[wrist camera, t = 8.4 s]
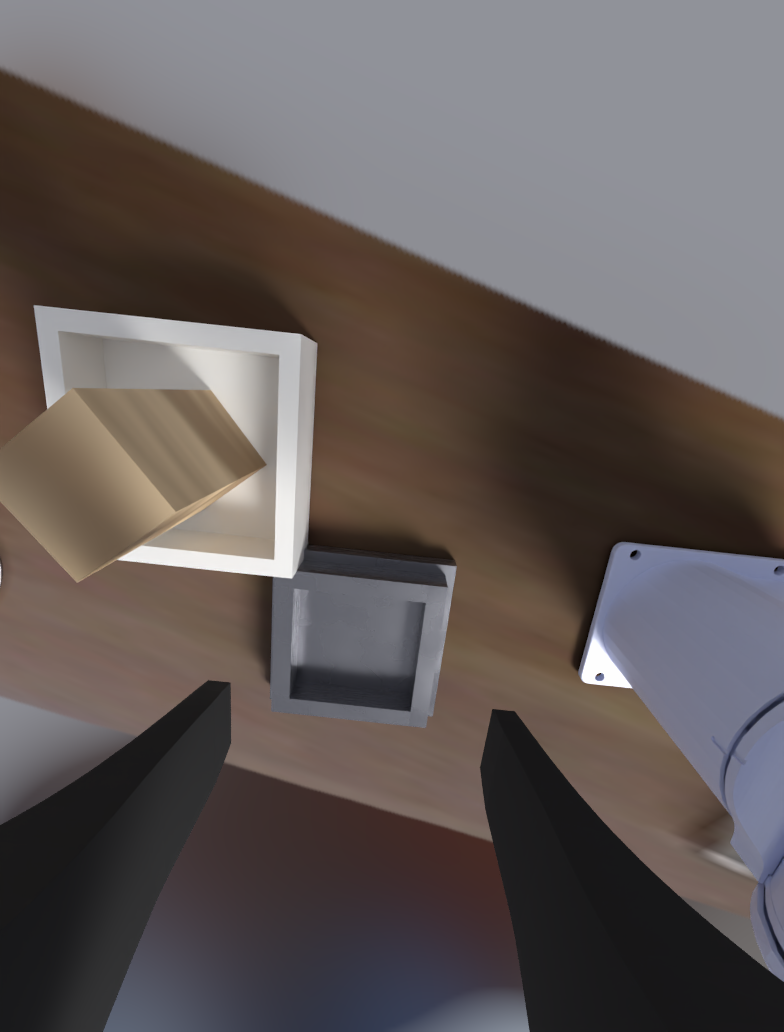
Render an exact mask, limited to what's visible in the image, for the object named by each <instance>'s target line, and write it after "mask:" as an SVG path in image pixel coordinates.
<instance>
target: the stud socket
mask: <svg viewBox="0 0 784 1032" xmlns="http://www.w3.org/2000/svg"><path fill="white" fill-rule="evenodd" d="M456 568H457V566H456V562H455V560H449V559H439V558H430V557H421V556H412V555H402V554H393V553H384V552H375V551H365V550H356V549H347V548H338V547H328V546H319V545H310V544H308V545H307V546H306V548H305V549H304V560H303V561H302V563H301V565H300V566H299V568H298V570H297V571H296V573H295V575H294V576H293V578H292V579H291V578H281V577H273V593H272V636H271V679H270V699H272V707H271V711H274V712H283V713H293V714H302V715H311V716H321V717H330V718H339V719H348V720H358V721H367V722H376V723H386V724H395V725H404V726H413V727H423V728H426V724H427V718H428V716H433V710H434V704H435V698H436V692H437V686H438V679H439V673H440V667H441V661H442V655H443V648H444V642H445V636H446V630H447V624H448V617H449V611H450V605H451V599H452V593H453V586H454V580H455V574H456Z"/></svg>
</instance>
